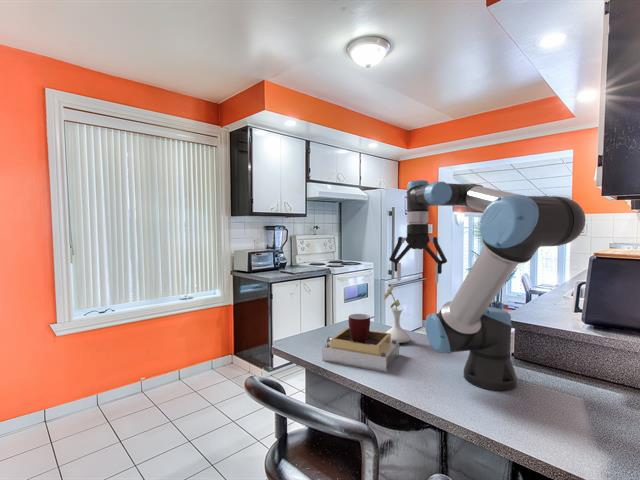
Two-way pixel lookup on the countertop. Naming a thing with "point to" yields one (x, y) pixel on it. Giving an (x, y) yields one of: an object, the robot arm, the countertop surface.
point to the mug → (359, 327)
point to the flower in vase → (396, 321)
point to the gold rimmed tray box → (362, 350)
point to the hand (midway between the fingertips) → (417, 281)
